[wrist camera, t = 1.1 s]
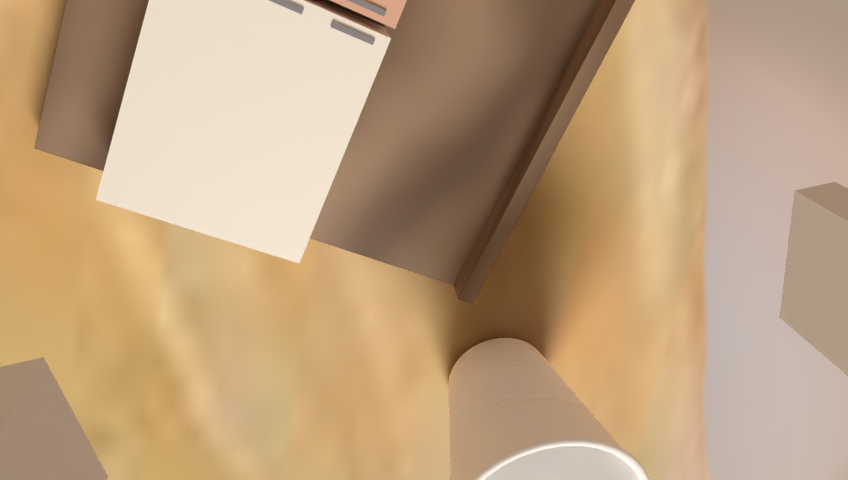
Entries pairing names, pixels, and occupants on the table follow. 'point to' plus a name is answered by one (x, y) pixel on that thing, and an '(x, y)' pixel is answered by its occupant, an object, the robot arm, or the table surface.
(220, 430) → the table surface
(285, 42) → the cream flat block
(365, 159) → the board
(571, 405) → the cup
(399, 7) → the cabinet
